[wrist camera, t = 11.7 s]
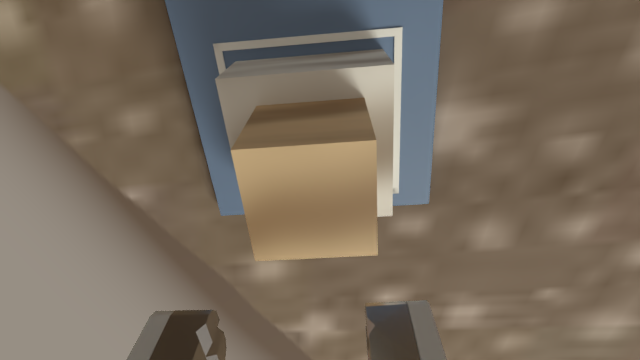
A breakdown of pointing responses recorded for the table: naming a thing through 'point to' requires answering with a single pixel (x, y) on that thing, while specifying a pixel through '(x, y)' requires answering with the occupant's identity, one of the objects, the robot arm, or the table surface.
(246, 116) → the base block
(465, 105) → the table surface
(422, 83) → the board
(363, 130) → the oak cube
